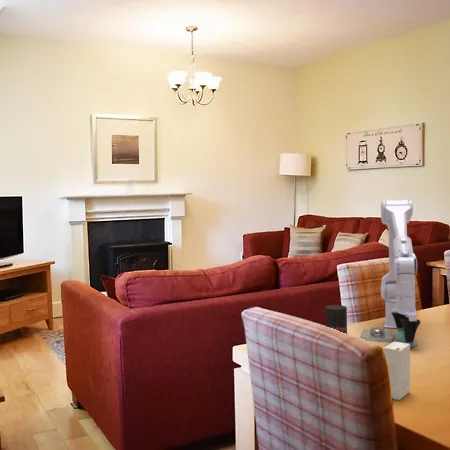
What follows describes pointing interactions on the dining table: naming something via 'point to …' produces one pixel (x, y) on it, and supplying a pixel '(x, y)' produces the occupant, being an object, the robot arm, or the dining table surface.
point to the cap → (401, 336)
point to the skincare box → (398, 368)
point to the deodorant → (337, 317)
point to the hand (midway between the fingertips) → (405, 338)
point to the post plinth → (377, 334)
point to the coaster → (413, 344)
